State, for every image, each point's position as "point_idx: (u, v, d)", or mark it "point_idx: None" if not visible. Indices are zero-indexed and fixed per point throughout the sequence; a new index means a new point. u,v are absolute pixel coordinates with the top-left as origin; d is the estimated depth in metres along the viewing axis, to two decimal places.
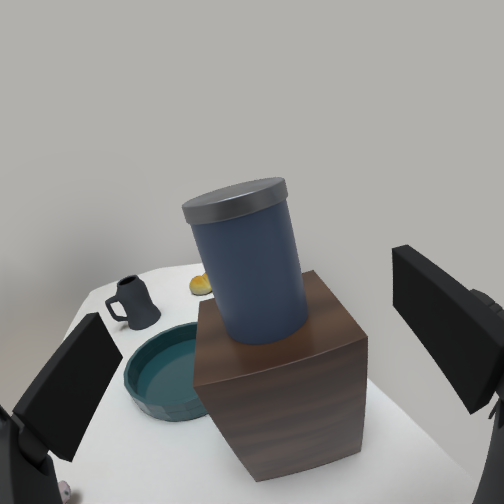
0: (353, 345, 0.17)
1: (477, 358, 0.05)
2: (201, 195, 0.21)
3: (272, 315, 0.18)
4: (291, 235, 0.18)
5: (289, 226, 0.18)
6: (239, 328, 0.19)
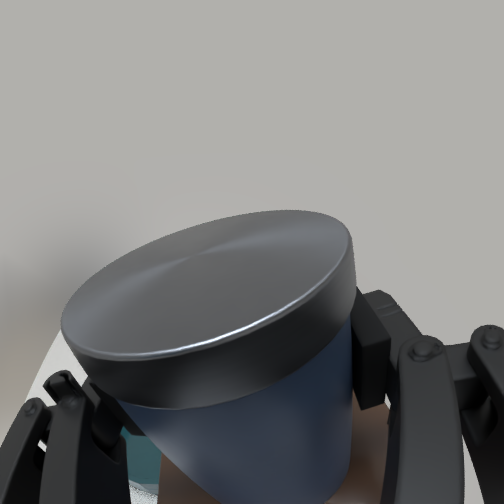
0: None
1: (354, 355, 0.07)
2: (134, 251, 0.09)
3: None
4: (350, 378, 0.06)
5: (350, 359, 0.06)
6: None
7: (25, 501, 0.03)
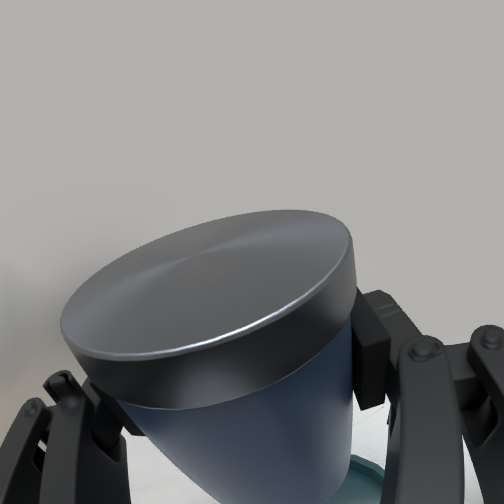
0: None
1: (354, 355, 0.07)
2: (134, 250, 0.09)
3: None
4: (351, 378, 0.06)
5: (350, 359, 0.06)
6: None
7: (25, 501, 0.03)
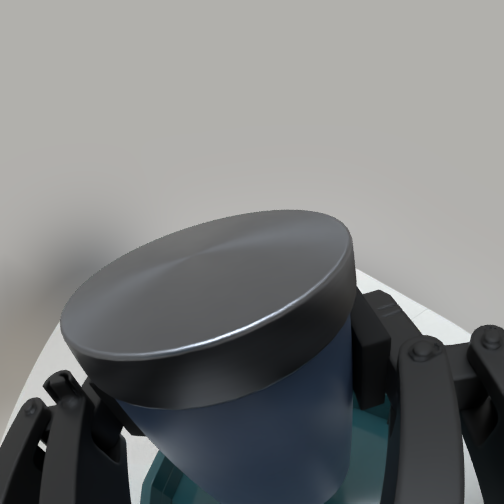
0: None
1: (354, 355, 0.07)
2: (134, 250, 0.09)
3: None
4: (350, 378, 0.06)
5: (350, 359, 0.06)
6: None
7: (25, 501, 0.03)
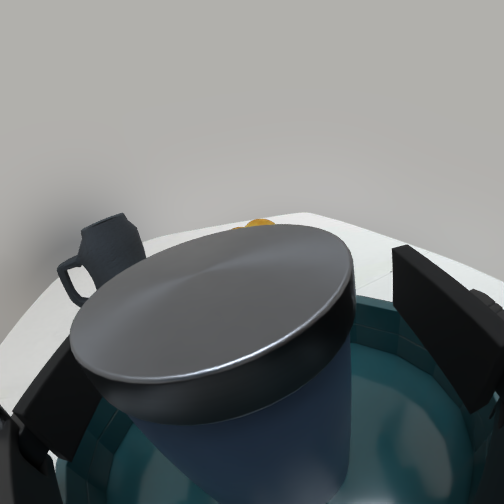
0: None
1: (477, 358, 0.05)
2: (138, 263, 0.09)
3: None
4: (349, 389, 0.06)
5: (349, 371, 0.06)
6: None
7: None
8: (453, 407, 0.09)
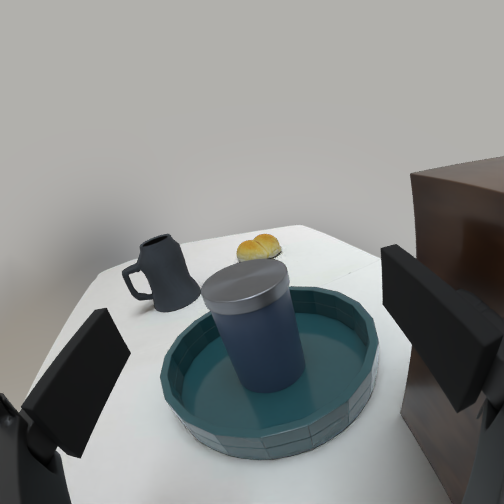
0: None
1: (461, 357, 0.05)
2: (215, 274, 0.25)
3: (275, 374, 0.22)
4: (291, 315, 0.22)
5: (290, 308, 0.22)
6: (249, 382, 0.23)
7: None
8: (362, 346, 0.25)
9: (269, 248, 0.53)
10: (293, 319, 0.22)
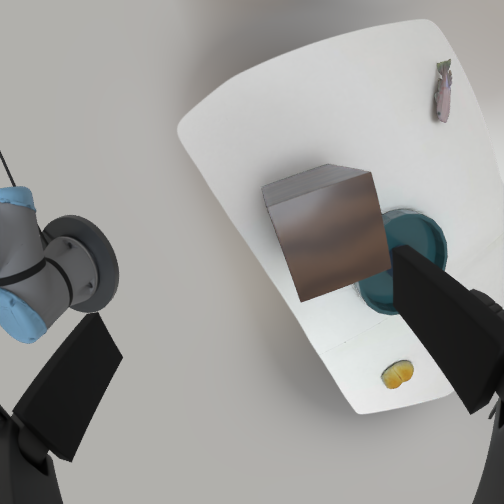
0: (276, 202, 0.28)
1: (477, 358, 0.05)
2: None
3: None
4: None
5: None
6: None
7: None
8: None
9: (392, 372, 0.58)
10: None
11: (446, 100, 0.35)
